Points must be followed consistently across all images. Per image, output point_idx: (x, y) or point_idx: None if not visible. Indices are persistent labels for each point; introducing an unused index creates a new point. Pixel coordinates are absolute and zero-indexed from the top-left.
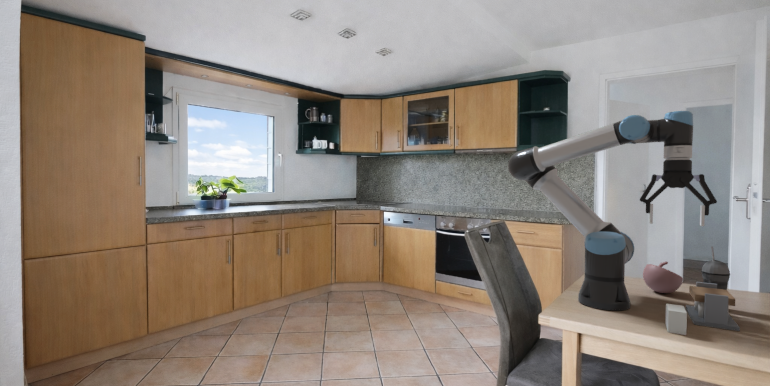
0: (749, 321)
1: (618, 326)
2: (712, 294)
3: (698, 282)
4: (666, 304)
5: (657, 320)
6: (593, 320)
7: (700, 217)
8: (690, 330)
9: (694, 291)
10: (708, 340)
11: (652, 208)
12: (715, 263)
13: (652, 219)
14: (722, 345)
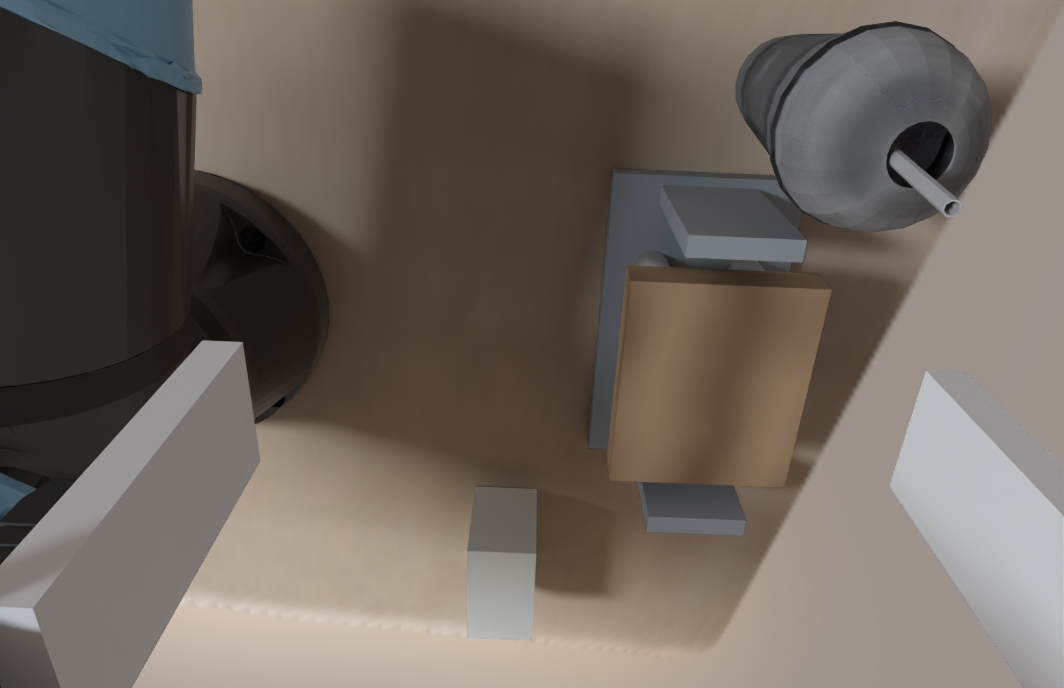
0: (861, 278)
1: (309, 581)
2: (679, 525)
3: (695, 254)
4: (467, 564)
5: (448, 451)
6: (214, 558)
7: (984, 487)
8: (557, 515)
9: (623, 418)
10: (595, 586)
11: (134, 671)
12: (883, 213)
13: (233, 506)
14: (627, 610)
